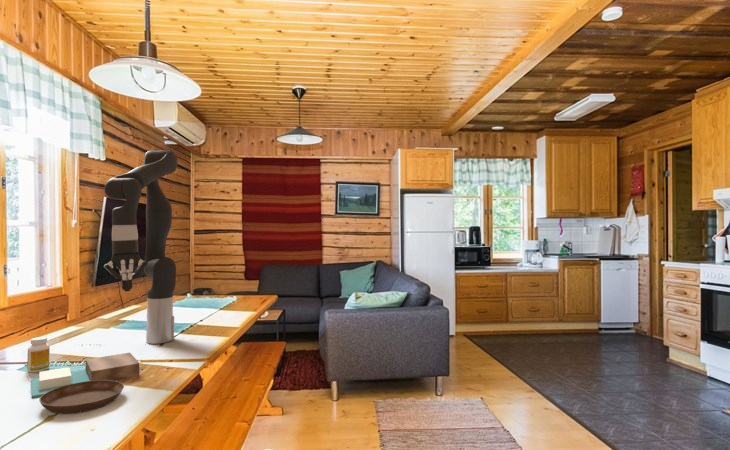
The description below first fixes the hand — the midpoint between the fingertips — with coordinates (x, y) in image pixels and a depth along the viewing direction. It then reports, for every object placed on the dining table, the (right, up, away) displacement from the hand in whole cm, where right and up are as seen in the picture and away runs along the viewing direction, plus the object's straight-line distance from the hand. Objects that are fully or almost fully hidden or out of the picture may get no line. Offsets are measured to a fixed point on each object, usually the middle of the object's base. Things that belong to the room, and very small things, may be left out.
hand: (126, 291), depth 139 cm
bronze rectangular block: (+3, -23, -12) cm, 27 cm away
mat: (-7, -23, -20) cm, 32 cm away
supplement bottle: (-23, -23, -9) cm, 34 cm away
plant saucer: (+8, -23, -33) cm, 41 cm away
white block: (-8, -20, -21) cm, 30 cm away
